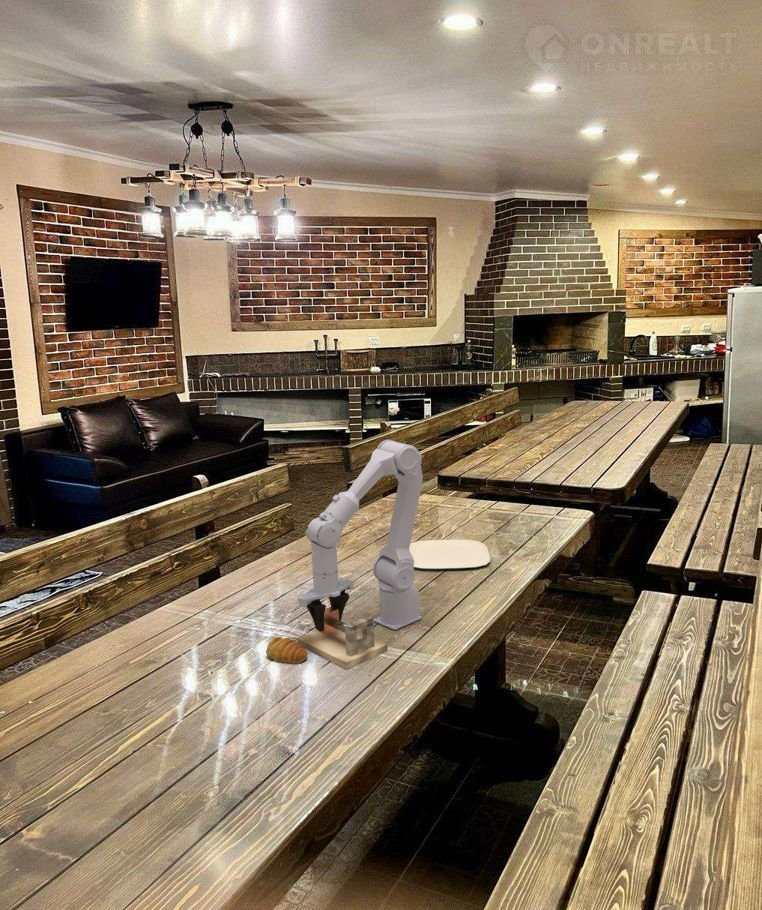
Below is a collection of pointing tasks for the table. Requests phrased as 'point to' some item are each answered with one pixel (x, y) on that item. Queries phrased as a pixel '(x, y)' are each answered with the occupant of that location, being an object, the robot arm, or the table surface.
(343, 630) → the bolt
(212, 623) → the table surface
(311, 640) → the latch board
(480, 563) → the plate
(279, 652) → the pastry
